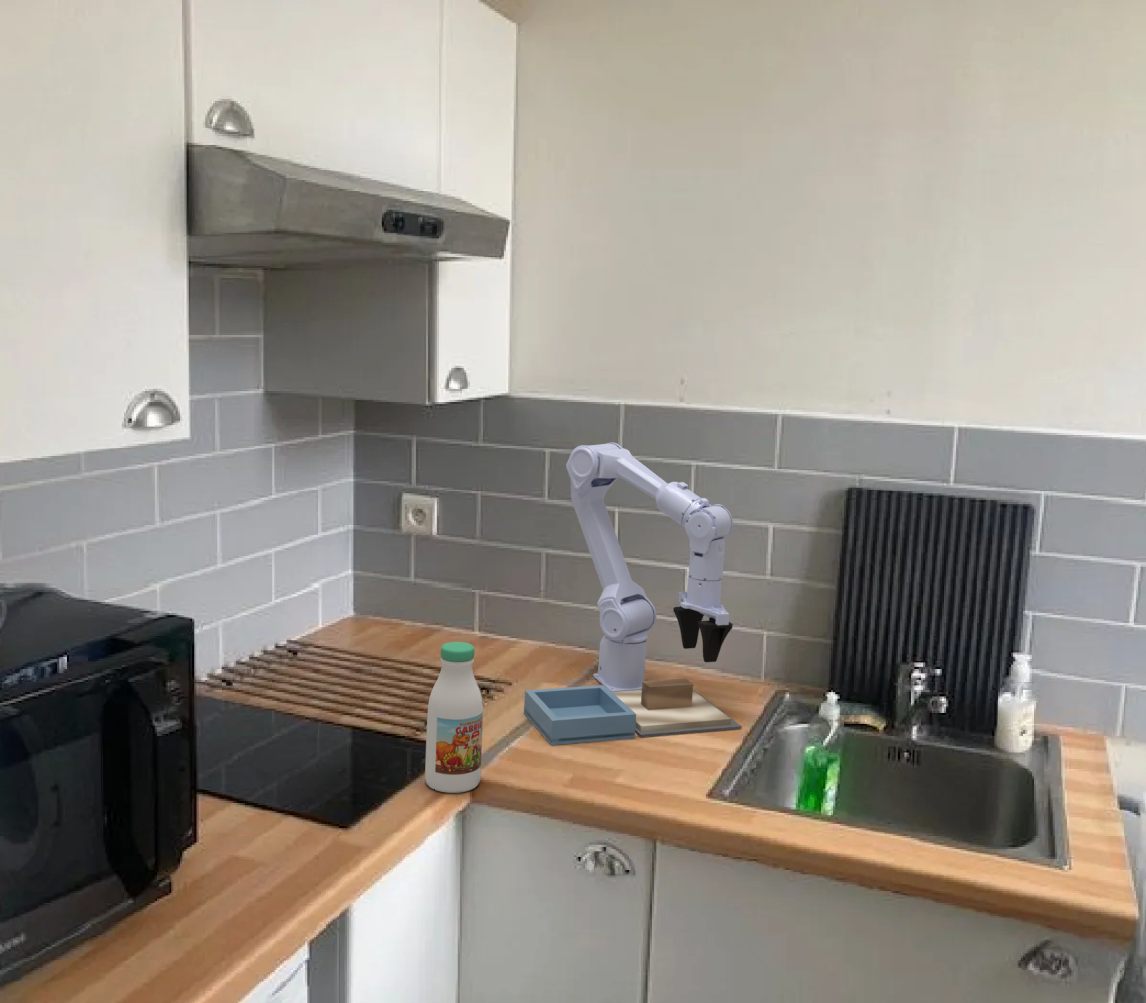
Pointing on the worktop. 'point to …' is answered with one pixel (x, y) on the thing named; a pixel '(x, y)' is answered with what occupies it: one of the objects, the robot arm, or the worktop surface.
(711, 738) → the worktop surface
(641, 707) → the lid
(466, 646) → the milk bottle
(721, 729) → the mat
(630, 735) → the dish
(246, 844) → the worktop surface
